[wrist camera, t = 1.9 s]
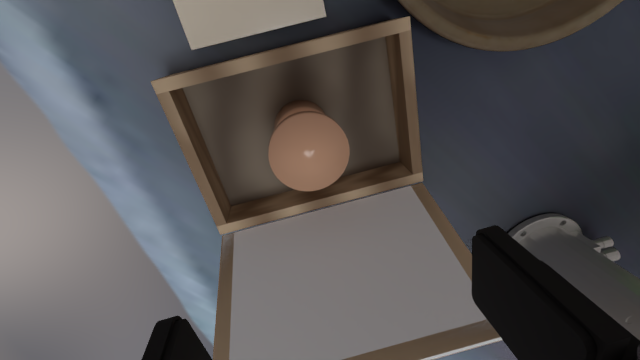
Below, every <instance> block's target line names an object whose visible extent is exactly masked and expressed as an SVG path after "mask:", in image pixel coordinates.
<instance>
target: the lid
mask: <svg viewBox="0 0 640 360" xmlns="http://www.w3.org/2000/svg"><path fill="white" fill-rule="evenodd" d="M501 340H502V338H501V337H500V336H499V334H498V333H497V332H496V330H495V329H494V328H493V327H492V325H491V324H490V323H489V321H488V320H487V319H486V317H485V316H484V315H483V314H482V312H481V311H480V310H479V308H478V307H477V306H476V304H475V302H474V300H473V298H472V254H471V253H470V251H469V250H468V249H467V247H466V246H465V244H464V243H463V241H462V240H461V238H460V237H459V235H458V234H457V233H456V231H455V230H454V228H453V227H452V225H451V224H450V222H449V221H448V219H447V218H446V217H445V215H444V214H443V212H442V211H441V209H440V208H439V206H438V205H437V204H436V202H435V201H434V199H433V198H432V196H431V195H430V193H429V192H428V190H427V189H426V188H425V186H424V185H423V183H419V184H415V185H412V186H408V187H404V188H400V189H397V190H393V191H389V192H385V193H381V194H378V195H374V196H370V197H366V198H363V199H359V200H355V201H351V202H348V203H344V204H340V205H336V206H332V207H329V208H325V209H321V210H317V211H314V212H310V213H306V214H302V215H299V216H295V217H291V218H287V219H283V220H280V221H276V222H272V223H268V224H265V225H261V226H257V227H253V228H250V229H246V230H242V231H238V232H234V233H231V234H227V235H223V236H222V246H221V259H220V272H219V285H218V298H217V311H216V324H215V337H214V350H213V360H433V359H437V358H441V357H444V356H448V355H451V354H455V353H459V352H462V351H466V350H469V349H473V348H476V347H480V346H484V345H487V344H491V343H494V342H498V341H501Z"/></svg>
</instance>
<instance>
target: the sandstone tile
mask: <svg viewBox="0 0 640 360" xmlns="http://www.w3.org/2000/svg"><path fill="white" fill-rule="evenodd" d="M173 2H174V5H175V8H176V10H177V13H178V16H179V18H180V21H181V23H182V26H183V29H184V31H185V34H186V37H187V39H188V42H189V44H190V47H191V50H196V49H200V48H204V47H208V46H212V45H216V44H220V43H224V42H228V41H232V40H236V39H240V38H244V37H248V36H252V35H256V34H260V33H264V32H268V31H272V30H276V29H280V28H284V27H288V26H292V25H296V24H300V23H304V22H308V21H312V20H316V19H320V18H324V17H326V12H325V7H324V2H323V0H173Z"/></svg>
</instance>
